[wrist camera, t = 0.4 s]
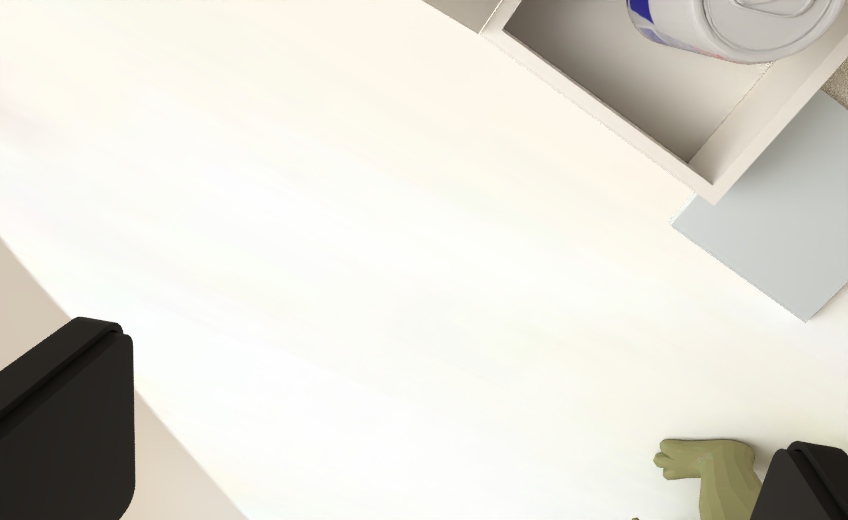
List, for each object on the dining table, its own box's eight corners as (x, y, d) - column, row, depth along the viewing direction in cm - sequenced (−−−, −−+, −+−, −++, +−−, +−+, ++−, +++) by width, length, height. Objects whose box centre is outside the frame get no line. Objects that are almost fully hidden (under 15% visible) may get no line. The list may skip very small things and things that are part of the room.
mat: (667, 221, 44) (670, 225, 43) (797, 73, 40) (803, 75, 39) (800, 317, 45) (805, 322, 44) (938, 182, 41) (946, 186, 40)
